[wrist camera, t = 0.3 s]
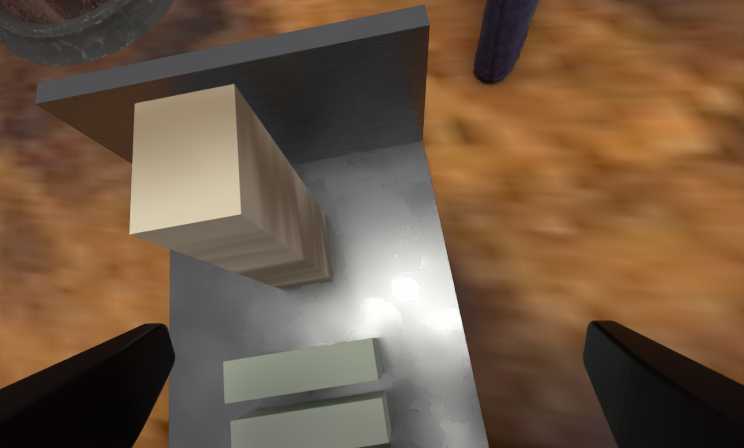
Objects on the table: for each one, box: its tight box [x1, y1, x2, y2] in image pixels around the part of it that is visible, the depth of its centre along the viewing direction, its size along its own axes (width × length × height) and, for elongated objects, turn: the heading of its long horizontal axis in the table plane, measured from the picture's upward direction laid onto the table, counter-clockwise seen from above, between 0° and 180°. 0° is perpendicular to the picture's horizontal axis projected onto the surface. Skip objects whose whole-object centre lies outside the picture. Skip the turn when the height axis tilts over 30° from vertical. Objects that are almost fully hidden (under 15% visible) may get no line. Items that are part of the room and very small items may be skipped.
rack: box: [35, 5, 489, 448], centre depth 17 cm, size 22×16×10 cm
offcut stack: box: [223, 338, 394, 448], centre depth 18 cm, size 7×7×3 cm
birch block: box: [130, 84, 333, 289], centre depth 16 cm, size 4×3×12 cm
